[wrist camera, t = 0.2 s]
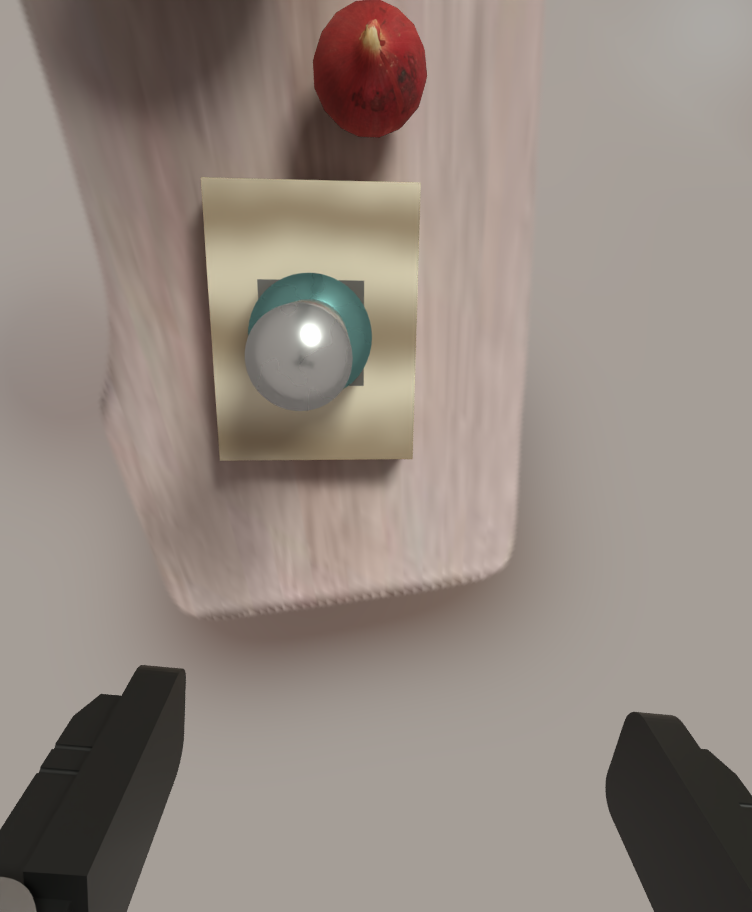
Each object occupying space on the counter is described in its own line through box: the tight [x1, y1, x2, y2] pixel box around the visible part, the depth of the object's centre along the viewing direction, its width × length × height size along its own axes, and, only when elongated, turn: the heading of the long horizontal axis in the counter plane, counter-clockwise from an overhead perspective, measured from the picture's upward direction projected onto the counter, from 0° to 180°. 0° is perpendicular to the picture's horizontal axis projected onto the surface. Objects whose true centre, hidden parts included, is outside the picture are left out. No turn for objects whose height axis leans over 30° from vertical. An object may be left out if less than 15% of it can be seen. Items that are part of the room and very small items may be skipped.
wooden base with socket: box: [201, 177, 421, 461], centre depth 33 cm, size 16×12×7 cm
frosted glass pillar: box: [245, 273, 372, 411], centre depth 26 cm, size 6×6×15 cm
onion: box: [313, 0, 427, 137], centre depth 29 cm, size 6×6×8 cm
